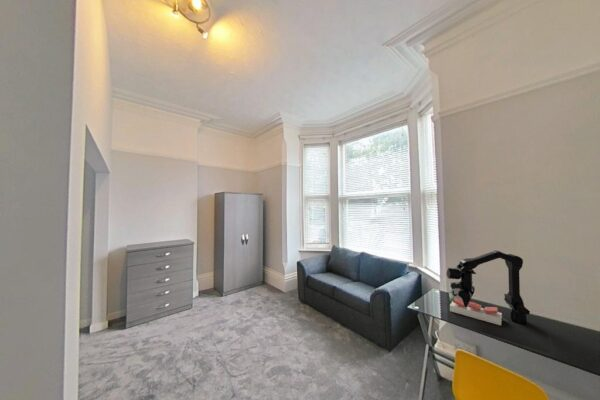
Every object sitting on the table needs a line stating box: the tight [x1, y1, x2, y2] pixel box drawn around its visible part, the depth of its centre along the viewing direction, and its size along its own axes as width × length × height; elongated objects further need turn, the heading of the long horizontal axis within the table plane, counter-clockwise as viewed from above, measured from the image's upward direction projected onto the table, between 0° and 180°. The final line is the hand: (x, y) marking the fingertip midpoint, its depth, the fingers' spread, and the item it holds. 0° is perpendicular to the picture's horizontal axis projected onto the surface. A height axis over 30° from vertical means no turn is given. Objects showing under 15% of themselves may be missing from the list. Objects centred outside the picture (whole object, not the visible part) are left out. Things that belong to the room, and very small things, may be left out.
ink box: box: [448, 283, 463, 303], centre depth 157 cm, size 9×5×12 cm, turn 73°
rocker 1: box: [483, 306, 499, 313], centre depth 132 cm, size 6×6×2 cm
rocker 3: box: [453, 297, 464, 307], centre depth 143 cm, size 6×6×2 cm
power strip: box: [449, 301, 509, 326], centre depth 137 cm, size 28×9×4 cm, turn 44°
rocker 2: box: [468, 301, 482, 311], centre depth 138 cm, size 6×6×2 cm
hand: (466, 304), depth 137 cm, fingers open, 9 cm apart
